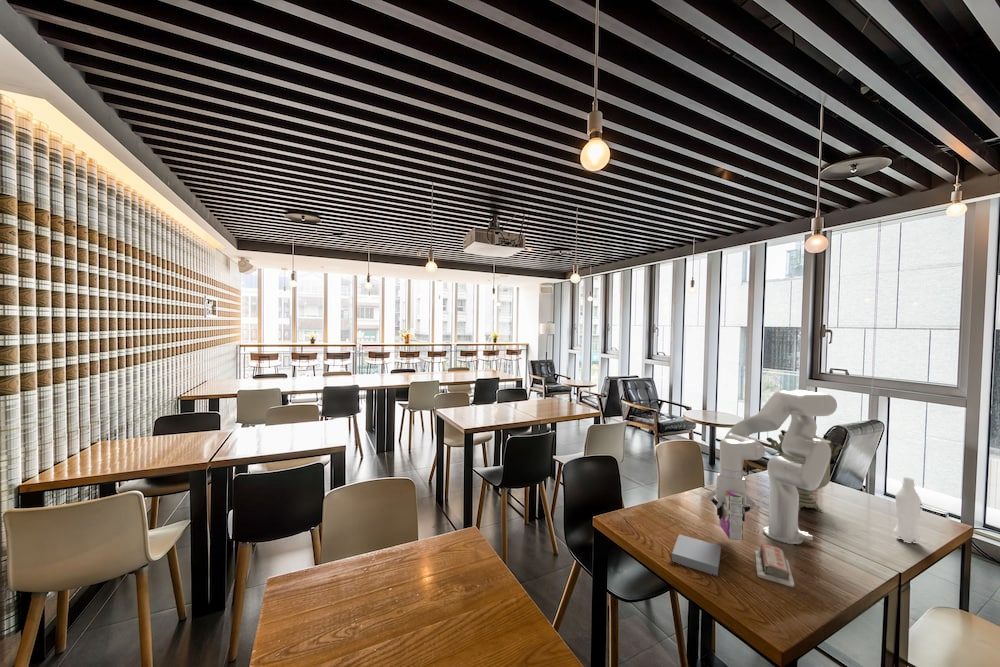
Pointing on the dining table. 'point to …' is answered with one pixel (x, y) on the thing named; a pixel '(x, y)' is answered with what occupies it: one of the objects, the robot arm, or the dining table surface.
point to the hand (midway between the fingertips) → (730, 519)
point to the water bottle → (907, 512)
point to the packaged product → (773, 565)
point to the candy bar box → (732, 515)
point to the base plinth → (697, 554)
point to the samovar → (804, 494)
